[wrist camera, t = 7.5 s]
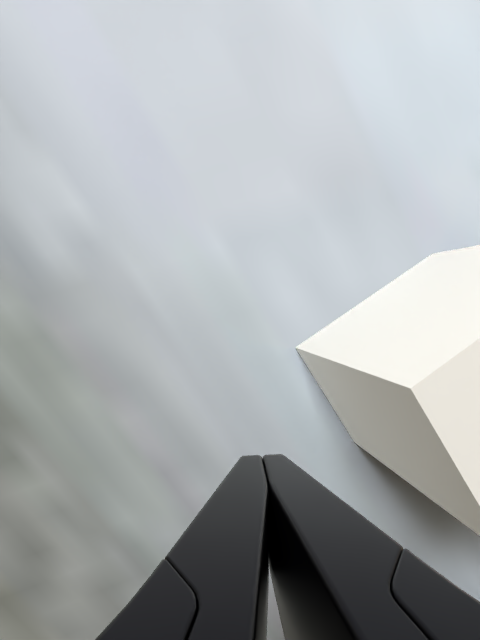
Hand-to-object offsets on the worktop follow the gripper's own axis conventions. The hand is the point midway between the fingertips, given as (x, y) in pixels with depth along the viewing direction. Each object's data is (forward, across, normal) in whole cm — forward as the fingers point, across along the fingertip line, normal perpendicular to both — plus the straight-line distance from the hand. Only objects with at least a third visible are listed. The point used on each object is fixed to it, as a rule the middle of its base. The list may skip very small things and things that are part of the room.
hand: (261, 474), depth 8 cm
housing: (+13, +8, -3) cm, 16 cm away
